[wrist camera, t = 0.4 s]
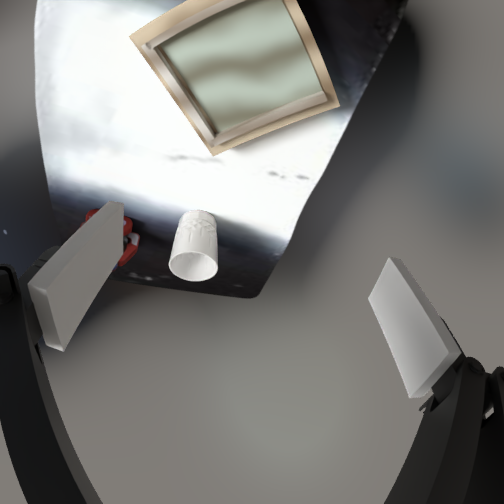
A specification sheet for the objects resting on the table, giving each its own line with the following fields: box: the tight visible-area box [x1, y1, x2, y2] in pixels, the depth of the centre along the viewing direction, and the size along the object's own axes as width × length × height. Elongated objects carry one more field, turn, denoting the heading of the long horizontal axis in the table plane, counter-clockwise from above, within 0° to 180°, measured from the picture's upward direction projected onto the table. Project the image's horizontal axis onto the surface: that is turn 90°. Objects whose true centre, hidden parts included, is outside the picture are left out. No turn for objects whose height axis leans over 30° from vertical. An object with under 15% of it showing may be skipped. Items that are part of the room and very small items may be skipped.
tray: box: [129, 0, 340, 156], centre depth 30 cm, size 20×18×6 cm
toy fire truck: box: [79, 209, 140, 271], centre depth 49 cm, size 7×12×10 cm, turn 66°
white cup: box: [169, 210, 218, 281], centre depth 51 cm, size 8×8×10 cm
